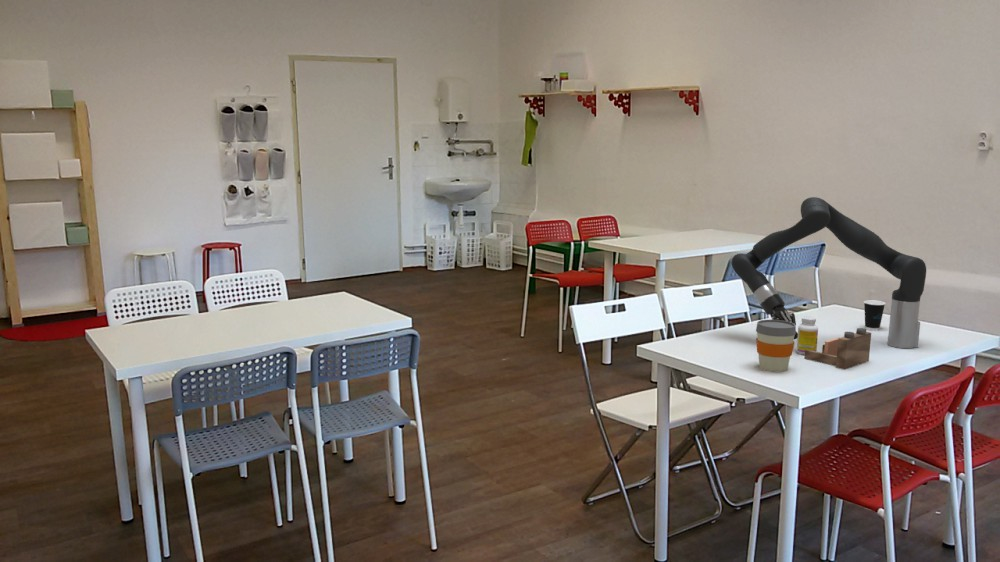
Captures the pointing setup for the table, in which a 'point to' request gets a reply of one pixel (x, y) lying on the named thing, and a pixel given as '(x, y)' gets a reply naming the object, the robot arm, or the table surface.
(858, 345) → the cradle
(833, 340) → the plate
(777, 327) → the reusable coffee cup
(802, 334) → the supplement bottle
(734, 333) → the table surface
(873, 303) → the dixie cup
